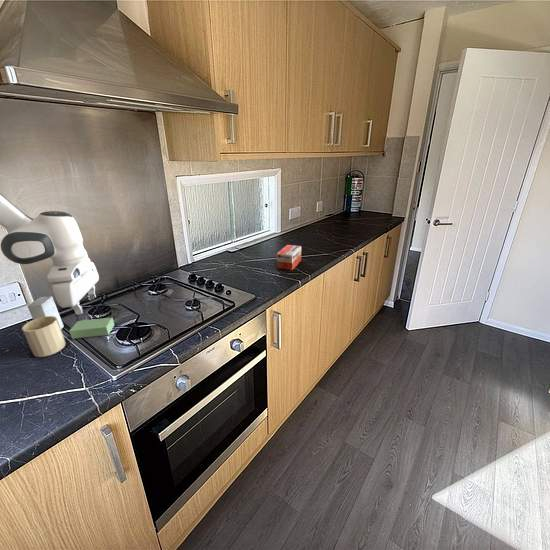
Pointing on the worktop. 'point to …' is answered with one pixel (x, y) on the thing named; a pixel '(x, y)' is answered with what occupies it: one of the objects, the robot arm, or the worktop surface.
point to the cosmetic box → (44, 309)
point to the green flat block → (92, 328)
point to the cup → (44, 336)
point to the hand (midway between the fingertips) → (86, 305)
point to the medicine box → (289, 257)
